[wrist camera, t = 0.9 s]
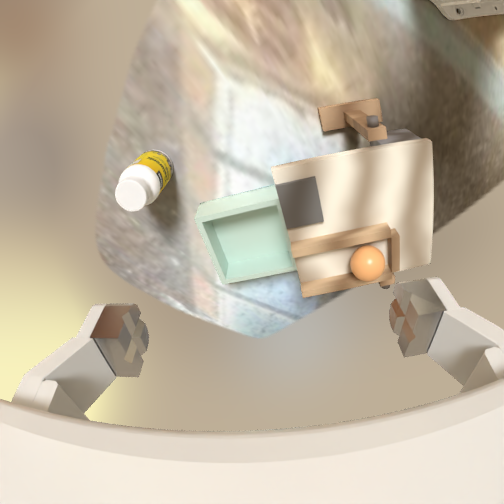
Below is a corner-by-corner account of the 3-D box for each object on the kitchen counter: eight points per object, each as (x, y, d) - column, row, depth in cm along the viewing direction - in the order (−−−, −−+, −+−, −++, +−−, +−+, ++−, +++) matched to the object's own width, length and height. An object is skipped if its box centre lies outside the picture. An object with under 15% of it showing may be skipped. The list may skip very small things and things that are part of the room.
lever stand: (376, 97, 35) (411, 113, 26) (390, 238, 47) (415, 284, 38) (317, 107, 36) (335, 125, 27) (343, 248, 48) (358, 297, 39)
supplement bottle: (181, 173, 42) (161, 205, 34) (151, 190, 44) (127, 225, 36) (160, 141, 40) (133, 166, 32) (130, 160, 41) (100, 189, 33)
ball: (379, 235, 34) (389, 256, 30) (380, 262, 36) (389, 284, 33) (345, 242, 34) (353, 264, 31) (348, 269, 37) (355, 292, 33)
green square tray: (279, 183, 43) (281, 197, 39) (297, 251, 49) (299, 269, 45) (200, 203, 45) (194, 218, 41) (225, 266, 51) (222, 284, 47)
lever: (405, 124, 33) (439, 145, 26) (411, 233, 42) (435, 271, 34) (270, 149, 36) (271, 177, 29) (298, 257, 45) (303, 300, 37)
